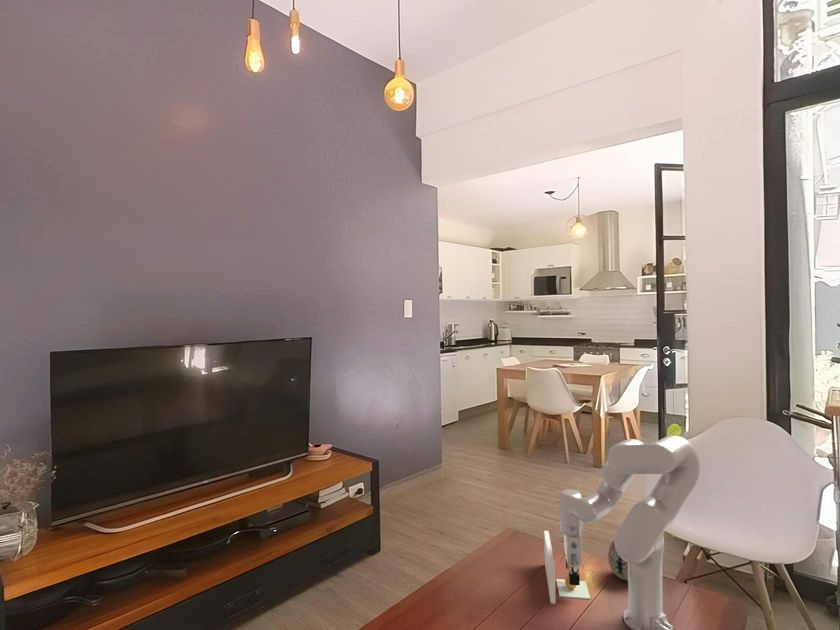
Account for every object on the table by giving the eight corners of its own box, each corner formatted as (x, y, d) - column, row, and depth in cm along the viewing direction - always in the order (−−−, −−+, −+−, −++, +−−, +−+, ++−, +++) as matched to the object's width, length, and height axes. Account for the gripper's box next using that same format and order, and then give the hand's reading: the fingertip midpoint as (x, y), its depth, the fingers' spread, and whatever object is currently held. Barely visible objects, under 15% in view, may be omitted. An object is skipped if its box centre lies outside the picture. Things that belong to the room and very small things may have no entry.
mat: (590, 599, 158) (590, 598, 158) (559, 596, 160) (559, 595, 160) (585, 582, 168) (585, 581, 168) (556, 580, 170) (556, 579, 170)
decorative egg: (648, 577, 170) (648, 536, 170) (637, 592, 162) (636, 548, 162) (615, 566, 178) (615, 526, 178) (603, 579, 170) (602, 537, 170)
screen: (555, 603, 157) (554, 564, 156) (550, 603, 157) (549, 564, 157) (549, 565, 180) (548, 530, 180) (544, 564, 181) (544, 530, 180)
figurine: (557, 587, 165) (556, 552, 165) (562, 579, 170) (561, 545, 170) (581, 594, 161) (580, 558, 161) (586, 585, 166) (585, 551, 166)
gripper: (587, 540, 155) (588, 592, 155) (579, 517, 172) (580, 564, 172) (563, 538, 156) (564, 590, 156) (557, 515, 173) (558, 562, 173)
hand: (572, 576), depth 164 cm, fingers open, 9 cm apart
